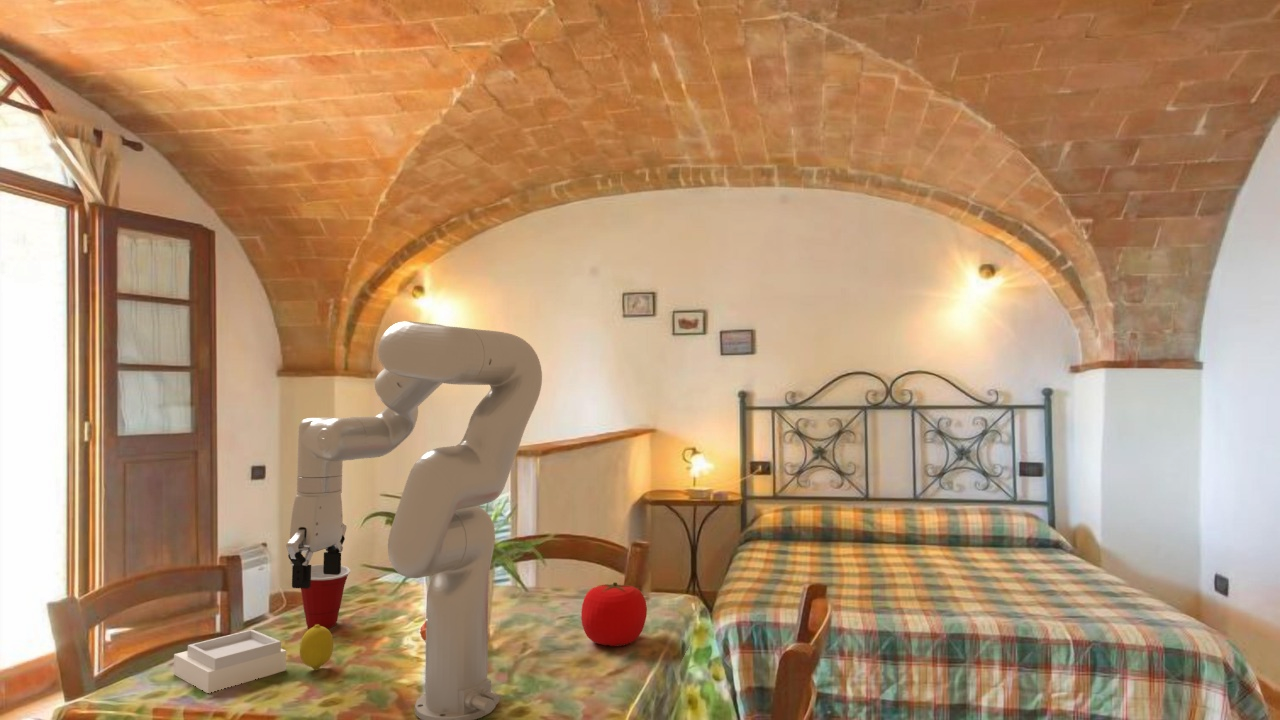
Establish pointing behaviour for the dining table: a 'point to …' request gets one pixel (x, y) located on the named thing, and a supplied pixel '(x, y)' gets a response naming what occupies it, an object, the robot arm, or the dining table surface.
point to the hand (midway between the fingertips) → (317, 580)
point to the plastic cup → (323, 597)
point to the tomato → (613, 614)
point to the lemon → (316, 646)
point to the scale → (230, 660)
